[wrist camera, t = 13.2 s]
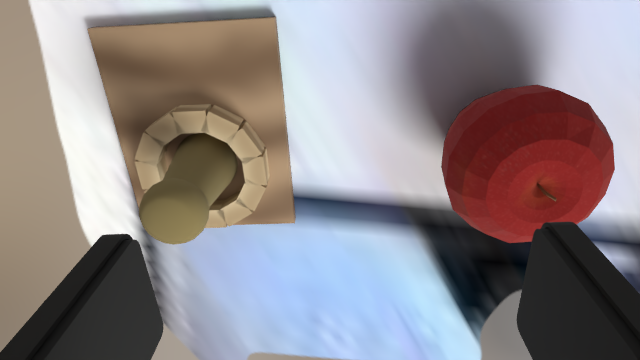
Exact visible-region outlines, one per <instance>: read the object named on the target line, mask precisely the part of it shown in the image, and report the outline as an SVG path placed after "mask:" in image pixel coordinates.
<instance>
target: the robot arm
mask: <svg viewBox="0 0 640 360" xmlns="http://www.w3.org/2000/svg"><path fill="white" fill-rule="evenodd" d="M517 325H518V330H519V332H520V335H521V337H522V339H523V341H524V343H525V345H526V347H527V349H528V351H529V353H530V355H531V357H532V359H533V360H640V294H639V293H638V292H637V291H636V290H635V288H634V287H633V286H632V285H631V284H630V283H629V282H628V281H627V280H626V279H625V277H624V276H623V275H622V274H621V273H620V272H619V271H618V270H617V269H616V268H615V267H614V265H613V264H612V263H611V262H610V261H609V260H608V259H607V258H606V257H605V256H604V254H603V253H602V252H601V251H600V250H599V249H598V248H597V247H596V246H595V245H594V243H593V242H592V241H591V240H590V239H589V238H588V237H587V236H586V235H585V234H584V233H583V231H582V230H581V229H580V228H579V227H578V226H577V225H576V224H575V223H574V222H546V223H544V224H543V225H542V227H541V229H536V230H535V231H534V234H533V238H532V243H531V248H530V253H529V258H528V263H527V268H526V273H525V278H524V283H523V288H522V293H521V298H520V303H519V308H518V314H517ZM162 333H163V321H162V317H161V314H160V311H159V307H158V304H157V301H156V297H155V294H154V291H153V287H152V284H151V281H150V277H149V274H148V271H147V267H146V264H145V261H144V257H143V254H142V251H141V247H140V244H139V242H138V241H137V240H133V239H132V237H131V236H130V235H128V234H112V235H102V236H101V237H100V238H99V239H98V240H97V241H96V243H95V244H94V245H93V246H92V247H91V248H90V250H89V251H88V252H87V253H86V254H85V255H84V257H83V258H82V259H81V260H80V261H79V262H78V263H77V265H76V266H75V267H74V268H73V269H72V270H71V272H70V273H69V274H68V275H67V276H66V277H65V278H64V280H63V281H62V282H61V283H60V284H59V285H58V286H57V288H56V289H55V290H54V291H53V292H52V293H51V295H50V296H49V297H48V298H47V299H46V300H45V301H44V303H43V304H42V305H41V306H40V307H39V308H38V310H37V311H36V312H35V313H34V314H33V315H32V317H31V318H30V319H29V320H28V321H27V322H26V323H25V325H24V326H23V327H22V328H21V329H20V330H19V332H18V333H17V334H16V335H15V336H14V337H13V339H12V340H11V341H10V342H9V343H8V344H7V345H6V347H5V348H4V349H3V350H2V351H1V352H0V360H151V358H152V356H153V354H154V352H155V349H156V347H157V345H158V343H159V341H160V339H161V336H162Z"/></svg>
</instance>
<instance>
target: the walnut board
mask: <svg viewBox="0 0 640 360" xmlns="http://www.w3.org/2000/svg"><path fill="white" fill-rule="evenodd" d="M88 33H89V36H90V40H91V43H92V47H93V50H94V54H95V57H96V61H97V64H98V68H99V71H100V75H101V78H102V82H103V85H104V89H105V92H106V96H107V99H108V103H109V106H110V110H111V113H112V117H113V120H114V124H115V127H116V130H117V134H118V137H119V141H120V144H121V148H122V151H123V155H124V158H125V162H126V165H127V169H128V172H129V176H130V179H131V183H132V186H133V190H134V193H135V197H136V200H137V204H138V207H139V206H140V203H141V200H142V198H143V195H144V194H145V193H144V191H145V190H146V189H142V187H141V183H140V179H139V176H138V172H137V169H136V165H135V161H136V159H135V156H136V153H137V150H138V147H139V144H140V141H141V138H142V135H143V132H144V131H145V130H146V129H147V128H148V127H149V126H150V125H152V124H153V123H154V122H155V121H157V120H158V119H160V118H161V117H162V116H164V115H165V114H167V113H168V112H170V111H171V110H172V109H174V108H175V107H179V106H180V105H200V104H211V107H213V106H214V105H216V106H218V107H220V108H222V109H224V110H227V111H229V112H231V113H233V114H235V115H237V116H239V117H241V118H243V119H244V120H243V122H242V123H244V122H245V121H247V122H248V124H249V125H250V126H251V127H252V129H253V130H254V131H255V133H256V134H257V135H258V137H259V138H260V139H261V141H262V142H263V143H264V145H265V147H264V148H266V150H267V158H268V166H269V174H270V176H269V181H268V184H267V187H266V189H265V191H264V193H263V195H262V197H261V199H260V201H259V203H258V205H257V207H256V209H255V211H253V213H252V214H250V215H249V216H247V217H245V218H243V219H242V220H240V221H238V222H236V223H235V224H233V225H244V224H279V223H295V218H296V217H295V207H294V196H293V186H292V176H291V166H290V155H289V145H288V135H287V125H286V114H285V104H284V94H283V84H282V73H281V63H280V53H279V42H278V32H277V22H276V17H262V18H245V19H228V20H210V21H193V22H175V23H158V24H141V25H123V26H106V27H92V28H88ZM192 134H196V133H184V134H180V135H178V136H177V137H175V138H174V139H173V140H171V141H170V142H169V145H168V148H167V150H166V153H165V160H166V165H167V169H168V168H169V165H170V163H171V161H172V159H173V157H174V155H175V153H176V150H177V148H178V146H179V144H180V143H181V142H182V141H183V140H184V139H185V138H186V137H188V136H190V135H192ZM235 154H236V153H235ZM236 157H237V161H238V167H237V173H236V175H235V177H234V179H233V180H232V181H231V182H230V184H229V185H228V186H227V187H226V188H225V189H224V191H223V192H222V193H221V194H220V195H219V197H218V198H217V199H216V200H225V199H227V198H228V197H230V196H232V195H233V194H235V193H237V192H238V191H240V190H241V189H242V187H243V185H244V182H245V178H244V172H243V165H242V161H241V160H240V158H239V157H238V156H237V155H236Z"/></svg>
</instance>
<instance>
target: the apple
mask: <svg viewBox="0 0 640 360" xmlns="http://www.w3.org/2000/svg"><path fill="white" fill-rule="evenodd" d="M441 167H442V172H443V176H444V181H445V185H446V189H447V192H448V195H449V198H450V202H451V205H452V208H453V210H454V211H455V212H456V213H457V214H459V215H460V216H461V217H462V218H463V219H464V220H465V221H466V222H467V223H469V224H470V225H471V226H472V227H474V228H476V229H478V230H479V231H481V232H483V233H485V234H487V235H490V236H493V237H495V238H498V239H500V240H503V241H505V242H508V243H515V242H528V241H532V238H533V234H534V231H535V230H536V229H541V227H542V225H543V224H544V223H546V222H574V223H575V224H578V223H579V222H581V221H582V220H584V219H586V218H587V217H588V216H589V215H590V214H591V212H592V211H593V210H594V209H595V207H596V206H597V205H598V203H599V202H600V201H601V199H602V198H603V197H604V195H605V194H606V191H607V188H608V186H609V183H610V180H611V178H612V175H613V172H614V170H615V167H614V152H613V143H612V140H611V138H610V136H609V134H608V132H607V130H606V127H605V126H604V125H603V123H602V122H601V120H600V119H599V118H598V116H597V115H596V113H595V112H594V111H593V109H592V108H591V106H590V105H589V104H588V103H586V102H584V101H582V100H579V99H577V98H575V97H573V96H570V95H568V94H566V93H563V92H561V91H559V90H555V89H552V88H548V87H544V86H540V85H531V86H523V87H516V88H509V89H504V90H501V91H498V92H494V93H492V94H489V95H486V96H484V97H481V98H479V99H476V100H474V101H473V102H472V103H471V104H469V105H468V106H467V107H466V108H464V109H463V110H462V111H461V112H460V113H459V114H458V116H457V117H456V119H455V120H454V122H453V123H452V125H451V126H450V128H449V130H448V133H447V136H446V139H445V141H444V148H443V157H442V166H441Z"/></svg>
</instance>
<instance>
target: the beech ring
mask: <svg viewBox="0 0 640 360" xmlns="http://www.w3.org/2000/svg"><path fill="white" fill-rule="evenodd" d="M243 120H244V119H243V118H241V117H239V116H237V115H235V114H233V113H231V112H229V111H227V110H224V109H222V108H220V107H218V106H216V105H214V106H213V107H211V104H200V105H180V106H179V107H175V108H174V109H172V110H171V111H170V112H168V113H167V114H165V115H164V116H162V117H161V118H160V119H158V120H157V121H155V122H154V123H153V124H152V125H150V126H149V127H148V128H147V129H146V130H145V131H144V132H143V135H142V138H141V141H140V144H139V147H138V150H137V153H136V156H135V159H136V161H135V165H136V169H137V172H138V176H139V179H140V183H141V187H142V189H146V190H145V191H144V193H146V192H147V191H148V190H149V188H150V187H151V186H152V185H154V184H156V183H158V182H160V181H162V180H163V178H164V176H165V174H166V172H167V170H168V169H167V165H166V160H165V153H166V150H167V148H168V145H169V142H170V141H171V140H173V139H174V138H175V137H177V136H178V135H180V134H184V133H207V134H209V135H211V136H213V137H215V138H217V139H220V140H222V141H224V142H226V143H228V145H229V146H230V147H231V148H232V150H233V151H234V152H235V153H236V155H237V156H238V157H239V158H240V160H241V161H242V165H243V172H244V178H245V182H244V185H243V187H242V189H241V190H240V191H238V192H237V193H235V194H233V195H232V196H230V197H228V198H227V199H225V200H215V201H214V202H213V204H212V205H211V206H210V207H209V219H208V221H207V224H206V226H205V228H220V227H227V225H228V226H231V225H233V224H235V223H236V222H238V221H240V220H242V219H243V218H245V217H247V216H249V215H250V214H252V213H253V211H255V209H256V207H257V205H258V203H259V201H260V199H261V197H262V195H263V193H264V191H265V189H266V187H267V184H268V181H269V176H270V174H269V166H268V158H267V150H266V148H264V147H265V145H264V143H263V142H262V141H261V139H260V138H259V137H258V135H257V134H256V133H255V131H254V130H253V129H252V127H251V126H250V125H249V124H248V122H247V121H245V122H244V123H242V122H243Z"/></svg>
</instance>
